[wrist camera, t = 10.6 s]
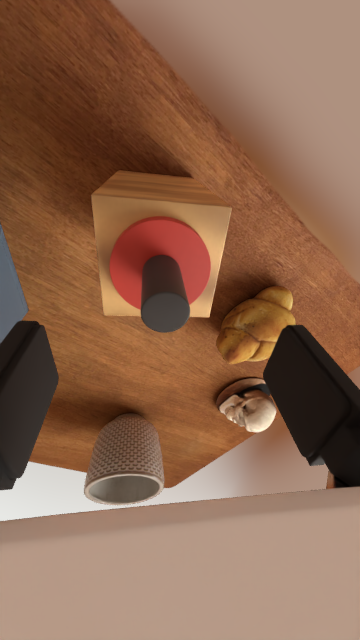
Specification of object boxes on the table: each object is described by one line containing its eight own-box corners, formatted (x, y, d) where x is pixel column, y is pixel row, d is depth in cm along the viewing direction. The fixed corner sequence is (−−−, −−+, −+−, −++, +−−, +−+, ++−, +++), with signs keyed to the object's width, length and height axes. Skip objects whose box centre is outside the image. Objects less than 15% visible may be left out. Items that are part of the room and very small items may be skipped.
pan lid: (107, 211, 13) (87, 243, 9) (216, 220, 14) (246, 252, 10) (114, 306, 17) (102, 361, 13) (200, 308, 18) (217, 360, 14)
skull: (224, 424, 55) (225, 445, 45) (210, 380, 56) (209, 391, 46) (276, 412, 53) (290, 430, 43) (261, 367, 54) (271, 374, 44)
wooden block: (118, 170, 25) (90, 194, 13) (193, 177, 26) (232, 206, 14) (121, 245, 30) (103, 315, 18) (185, 249, 31) (209, 317, 19)
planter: (174, 418, 53) (180, 484, 43) (133, 444, 58) (130, 510, 48) (124, 394, 46) (117, 466, 36) (83, 426, 51) (66, 497, 41)
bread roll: (268, 268, 34) (297, 297, 27) (302, 305, 38) (333, 337, 32) (203, 325, 38) (214, 361, 32) (239, 351, 43) (255, 388, 36)
